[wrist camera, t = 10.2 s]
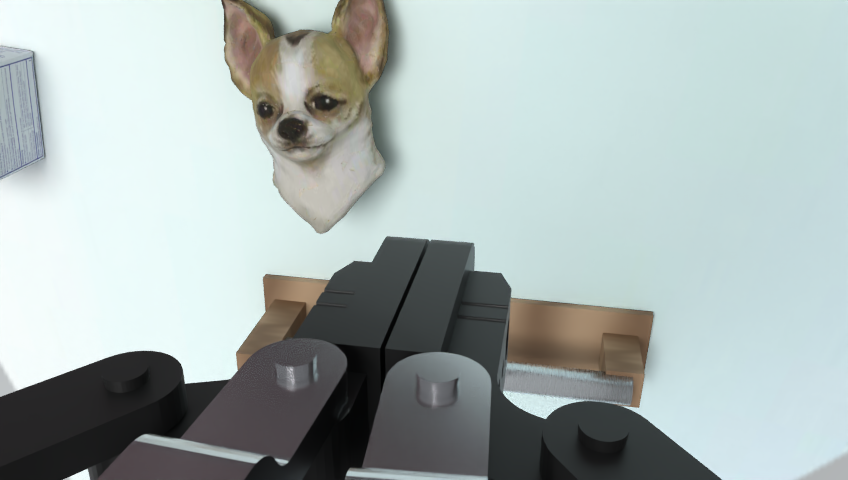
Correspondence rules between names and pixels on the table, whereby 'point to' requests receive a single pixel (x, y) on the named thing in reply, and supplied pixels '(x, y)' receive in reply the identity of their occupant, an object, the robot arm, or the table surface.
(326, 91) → the ceramic sculpture
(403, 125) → the table surface
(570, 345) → the stand
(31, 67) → the medicine box
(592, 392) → the pipe
